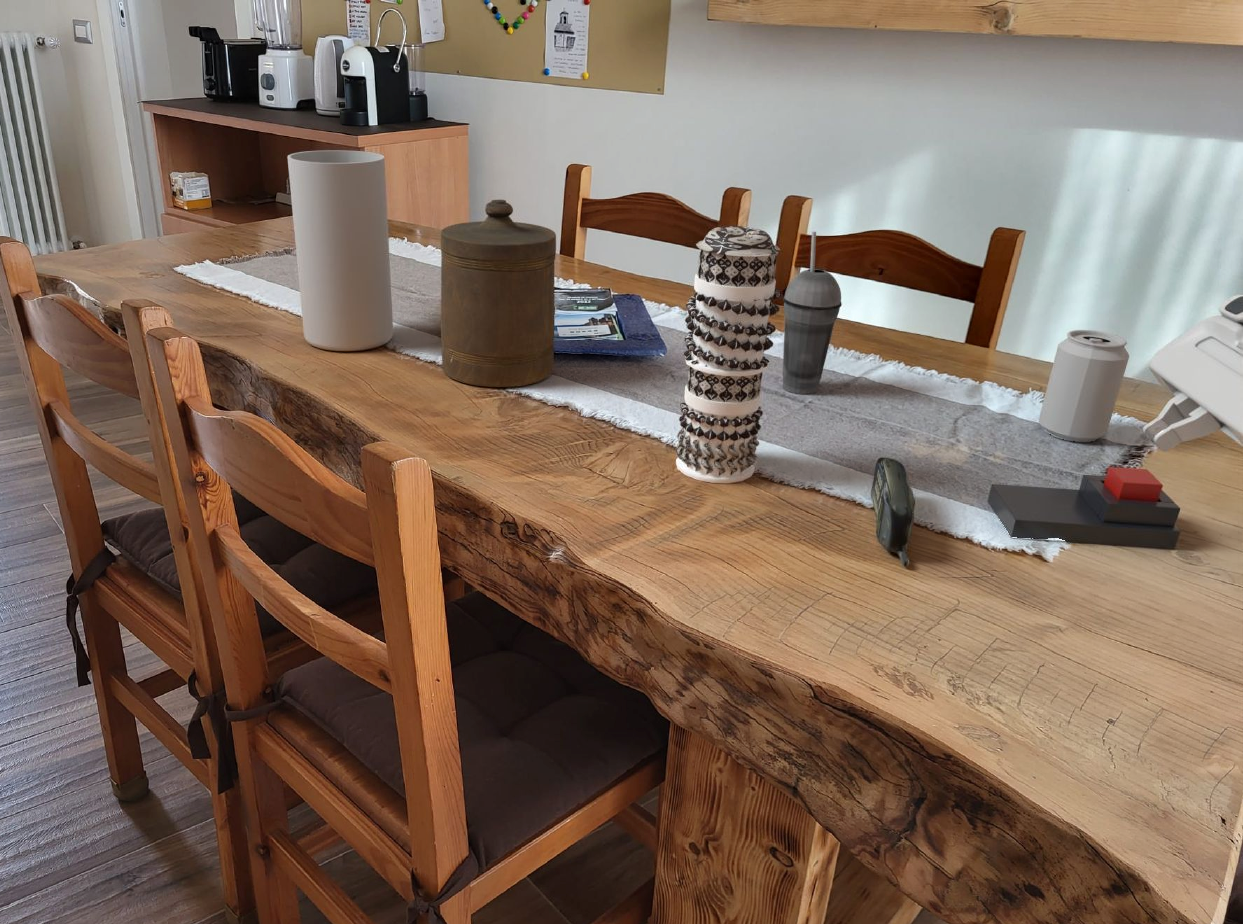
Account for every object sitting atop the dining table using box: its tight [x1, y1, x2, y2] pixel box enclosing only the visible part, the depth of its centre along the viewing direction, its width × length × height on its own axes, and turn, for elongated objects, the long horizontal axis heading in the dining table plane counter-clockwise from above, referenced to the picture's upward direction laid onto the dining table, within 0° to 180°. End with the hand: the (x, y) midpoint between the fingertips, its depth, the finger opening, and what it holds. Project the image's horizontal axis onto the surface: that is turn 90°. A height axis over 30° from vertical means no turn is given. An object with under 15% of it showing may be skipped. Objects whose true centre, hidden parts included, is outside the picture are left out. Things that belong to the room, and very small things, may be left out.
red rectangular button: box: [1104, 466, 1164, 502], centre depth 95 cm, size 4×4×2 cm
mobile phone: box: [870, 457, 916, 567], centre depth 94 cm, size 5×3×15 cm
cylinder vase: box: [286, 149, 394, 352], centre depth 137 cm, size 12×12×25 cm
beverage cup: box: [782, 231, 843, 395], centre depth 126 cm, size 7×7×20 cm
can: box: [1038, 329, 1130, 443], centre depth 116 cm, size 8×8×12 cm
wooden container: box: [440, 199, 557, 388], centre depth 128 cm, size 15×15×22 cm
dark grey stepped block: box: [987, 474, 1181, 551], centre depth 96 cm, size 15×8×4 cm, turn 85°
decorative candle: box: [675, 225, 783, 484], centre depth 101 cm, size 9×9×25 cm
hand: (1152, 440), depth 92 cm, fingers closed
